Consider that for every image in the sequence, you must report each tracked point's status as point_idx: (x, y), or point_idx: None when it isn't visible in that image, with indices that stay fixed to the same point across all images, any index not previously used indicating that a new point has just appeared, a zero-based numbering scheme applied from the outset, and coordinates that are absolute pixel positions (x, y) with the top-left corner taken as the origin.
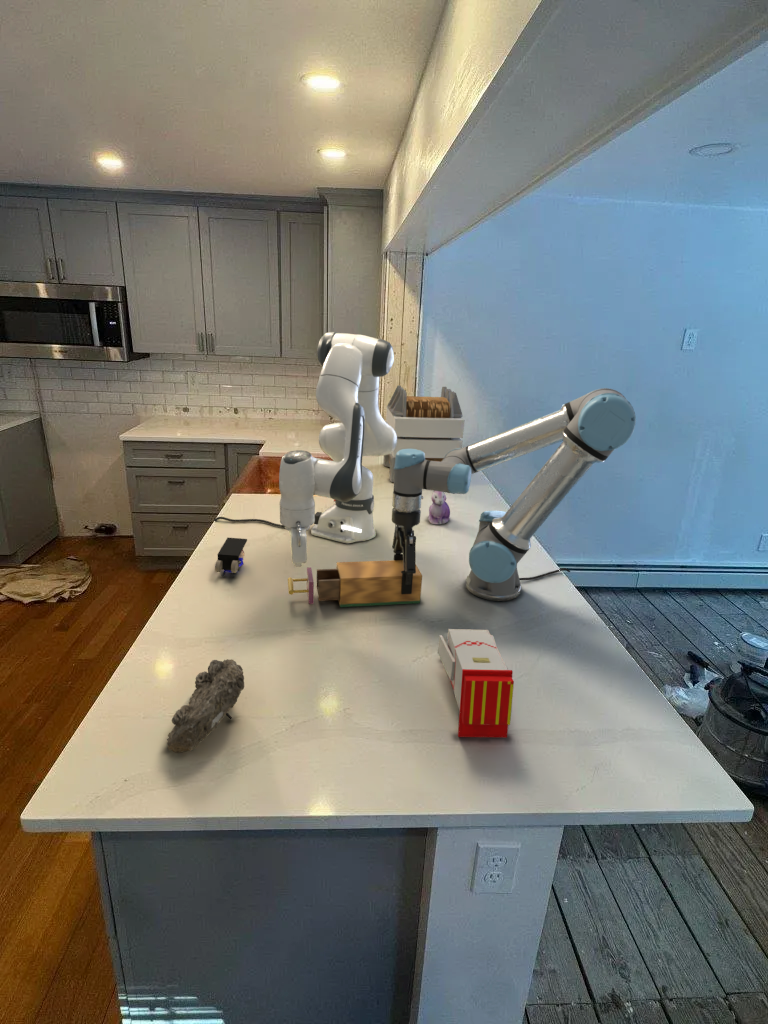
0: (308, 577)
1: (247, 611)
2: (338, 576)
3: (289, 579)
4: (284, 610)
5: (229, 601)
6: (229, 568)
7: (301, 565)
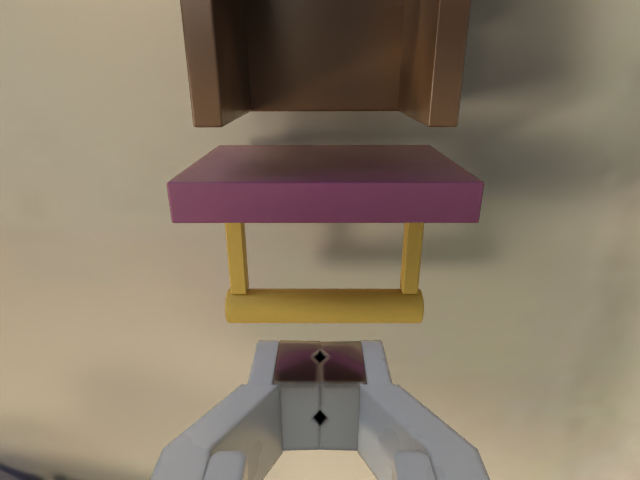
0: (386, 222)
1: None
2: None
3: (256, 318)
4: None
5: None
6: None
7: (380, 343)
